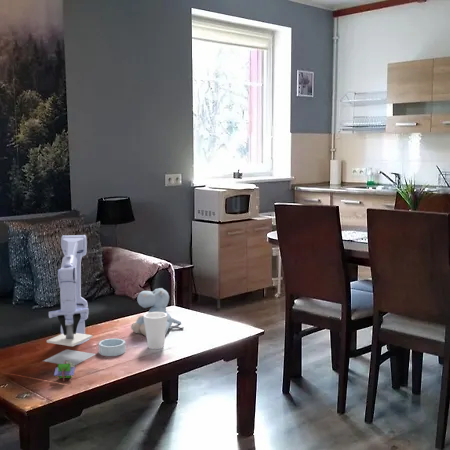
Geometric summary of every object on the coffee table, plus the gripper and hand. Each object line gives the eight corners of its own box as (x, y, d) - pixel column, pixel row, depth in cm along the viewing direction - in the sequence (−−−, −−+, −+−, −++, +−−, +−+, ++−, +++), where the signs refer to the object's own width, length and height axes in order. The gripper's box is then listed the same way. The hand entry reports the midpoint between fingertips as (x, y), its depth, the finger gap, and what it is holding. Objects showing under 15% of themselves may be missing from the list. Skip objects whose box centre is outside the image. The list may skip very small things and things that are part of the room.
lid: (46, 342, 226) (46, 327, 225) (67, 333, 237) (66, 319, 236) (72, 346, 221) (72, 331, 220) (92, 337, 232) (92, 322, 231)
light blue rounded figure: (130, 326, 270) (129, 286, 267) (180, 323, 275) (180, 283, 272) (132, 339, 252) (131, 296, 250) (186, 335, 257) (186, 293, 254)
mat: (42, 361, 226) (42, 360, 226) (66, 350, 239) (66, 349, 239) (73, 367, 221) (73, 366, 221) (96, 355, 233) (96, 354, 233)
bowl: (94, 354, 234) (93, 344, 233) (109, 346, 243) (108, 337, 242) (115, 358, 230) (115, 348, 229) (130, 350, 239) (130, 340, 238)
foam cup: (163, 351, 238) (162, 318, 236) (141, 349, 240) (140, 317, 238) (170, 343, 247) (169, 312, 245) (148, 341, 249) (148, 311, 247)
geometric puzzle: (72, 379, 203) (73, 356, 207) (51, 380, 203) (53, 357, 207) (75, 385, 210) (77, 362, 214) (55, 386, 209) (57, 363, 213)
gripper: (49, 303, 221) (50, 339, 222) (89, 299, 226) (90, 334, 228) (47, 298, 227) (49, 333, 229) (86, 295, 232) (88, 329, 234)
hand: (69, 333), depth 229 cm, fingers closed on lid, 3 cm apart
